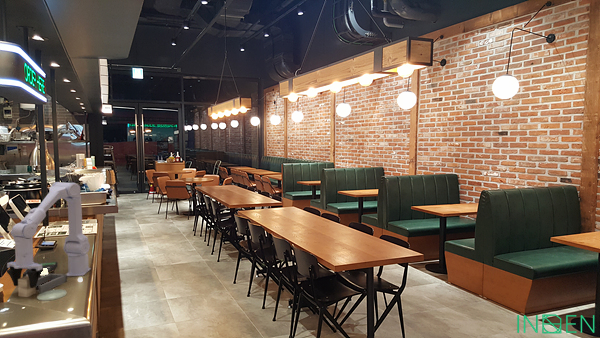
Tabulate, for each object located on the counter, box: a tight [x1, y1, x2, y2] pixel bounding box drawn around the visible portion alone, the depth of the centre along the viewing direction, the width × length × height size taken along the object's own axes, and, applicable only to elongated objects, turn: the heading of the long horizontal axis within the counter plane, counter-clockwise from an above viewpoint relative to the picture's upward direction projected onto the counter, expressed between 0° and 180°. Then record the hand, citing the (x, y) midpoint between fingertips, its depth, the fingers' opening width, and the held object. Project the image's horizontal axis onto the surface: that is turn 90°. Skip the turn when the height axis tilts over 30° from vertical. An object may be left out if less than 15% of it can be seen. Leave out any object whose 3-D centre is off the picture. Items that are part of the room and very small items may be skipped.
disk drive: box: [22, 261, 58, 278], centre depth 183 cm, size 10×3×15 cm
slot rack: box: [36, 272, 68, 294], centre depth 166 cm, size 14×8×3 cm, turn 169°
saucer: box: [36, 288, 68, 302], centre depth 156 cm, size 10×10×1 cm
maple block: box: [17, 276, 37, 298], centre depth 156 cm, size 4×4×7 cm
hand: (25, 286), depth 156 cm, fingers open, 7 cm apart
